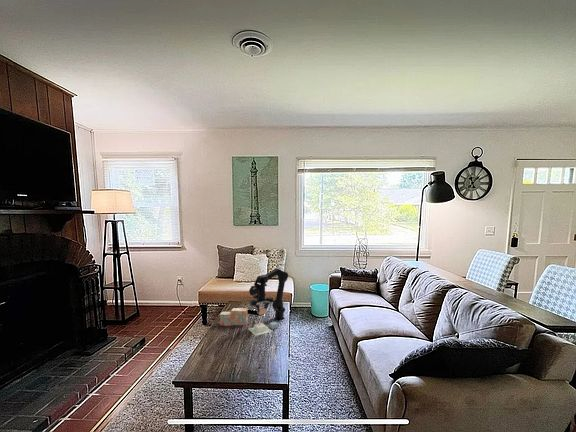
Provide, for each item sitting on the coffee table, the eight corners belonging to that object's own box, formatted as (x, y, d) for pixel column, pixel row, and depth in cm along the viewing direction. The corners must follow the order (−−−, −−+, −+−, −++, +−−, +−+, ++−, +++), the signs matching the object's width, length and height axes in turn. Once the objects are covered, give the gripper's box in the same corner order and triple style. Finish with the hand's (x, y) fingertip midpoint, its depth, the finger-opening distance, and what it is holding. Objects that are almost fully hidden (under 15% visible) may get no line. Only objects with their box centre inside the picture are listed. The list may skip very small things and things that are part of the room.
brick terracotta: (263, 311, 220) (263, 306, 220) (265, 313, 216) (265, 308, 216) (257, 312, 217) (257, 307, 217) (260, 314, 213) (259, 309, 213)
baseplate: (264, 325, 219) (264, 324, 219) (272, 331, 207) (272, 330, 207) (247, 329, 211) (247, 328, 211) (255, 336, 200) (255, 335, 199)
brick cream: (262, 327, 214) (262, 322, 214) (266, 330, 208) (266, 325, 208) (254, 329, 210) (253, 324, 210) (257, 332, 204) (257, 328, 204)
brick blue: (275, 326, 217) (275, 321, 217) (278, 328, 212) (278, 323, 212) (269, 327, 214) (269, 322, 214) (272, 330, 210) (272, 325, 210)
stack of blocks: (219, 325, 219) (219, 310, 219) (222, 322, 225) (221, 307, 225) (246, 326, 218) (246, 310, 218) (247, 322, 224) (247, 308, 224)
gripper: (267, 288, 228) (267, 306, 228) (246, 291, 219) (246, 311, 219) (273, 291, 218) (273, 311, 219) (252, 295, 209) (252, 315, 209)
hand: (261, 312), depth 217 cm, fingers closed on brick terracotta, 5 cm apart
